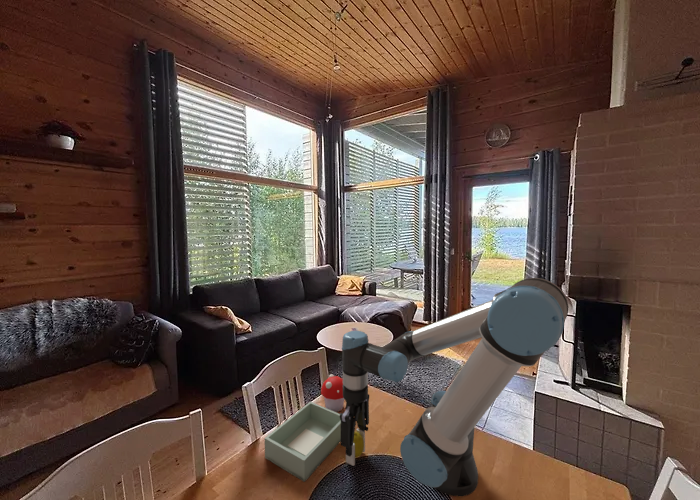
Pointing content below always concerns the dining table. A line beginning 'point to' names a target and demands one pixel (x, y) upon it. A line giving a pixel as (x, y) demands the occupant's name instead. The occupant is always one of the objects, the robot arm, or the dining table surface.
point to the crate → (304, 440)
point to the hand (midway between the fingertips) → (355, 456)
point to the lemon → (358, 444)
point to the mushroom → (333, 393)
